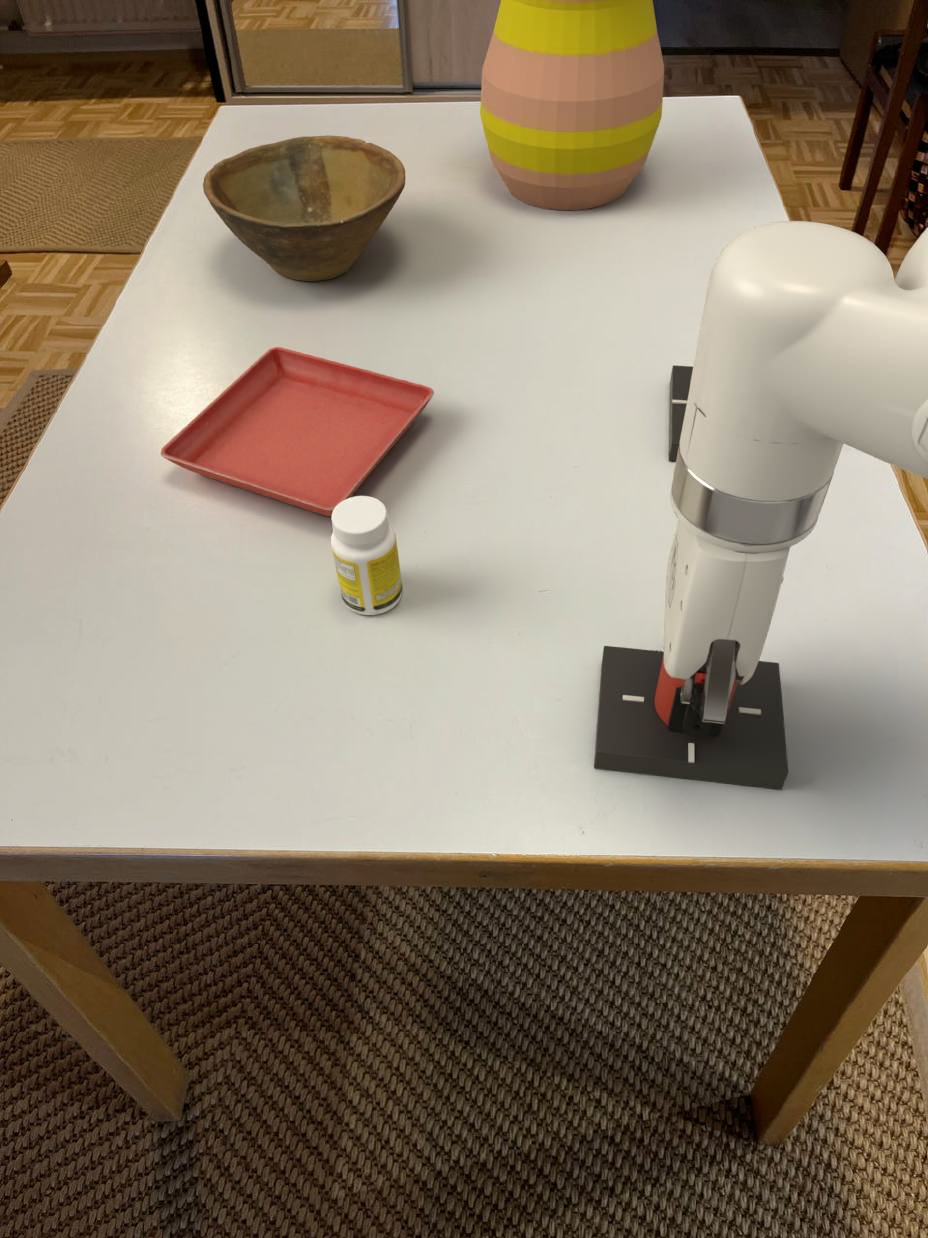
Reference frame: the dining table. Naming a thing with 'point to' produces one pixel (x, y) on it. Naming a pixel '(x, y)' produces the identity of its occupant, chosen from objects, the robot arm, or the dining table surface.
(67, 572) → the dining table surface
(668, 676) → the near red knob
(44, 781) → the dining table surface
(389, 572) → the supplement bottle
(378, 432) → the plant saucer
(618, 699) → the dark tick-marked fixture
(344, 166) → the bowl
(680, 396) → the dark square slab
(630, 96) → the vase
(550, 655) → the dining table surface
